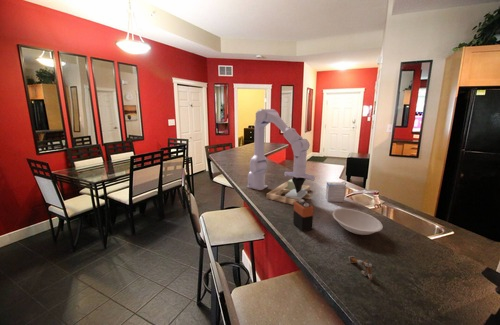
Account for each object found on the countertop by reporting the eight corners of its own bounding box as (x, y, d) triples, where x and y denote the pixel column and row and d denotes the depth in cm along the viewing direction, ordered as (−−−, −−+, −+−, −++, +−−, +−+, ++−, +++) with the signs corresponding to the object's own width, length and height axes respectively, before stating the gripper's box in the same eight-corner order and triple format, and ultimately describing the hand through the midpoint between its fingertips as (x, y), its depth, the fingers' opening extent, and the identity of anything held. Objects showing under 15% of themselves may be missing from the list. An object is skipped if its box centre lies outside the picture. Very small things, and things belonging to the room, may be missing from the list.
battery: (302, 221, 87) (303, 197, 85) (312, 229, 81) (314, 204, 79) (292, 223, 86) (293, 199, 83) (302, 232, 79) (303, 206, 77)
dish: (322, 223, 86) (323, 211, 84) (351, 217, 90) (352, 206, 89) (358, 249, 69) (360, 235, 68) (391, 240, 74) (393, 227, 73)
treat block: (287, 191, 120) (287, 181, 118) (290, 189, 123) (291, 179, 122) (295, 193, 117) (295, 182, 116) (298, 190, 121) (298, 180, 120)
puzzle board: (266, 198, 111) (266, 193, 110) (286, 185, 130) (286, 181, 129) (302, 206, 101) (302, 201, 100) (317, 191, 120) (318, 187, 119)
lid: (284, 196, 106) (285, 191, 105) (293, 190, 114) (293, 185, 113) (299, 199, 102) (300, 194, 101) (307, 193, 110) (307, 188, 109)
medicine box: (341, 199, 110) (343, 182, 108) (344, 202, 105) (346, 185, 103) (325, 198, 111) (326, 181, 109) (327, 201, 106) (328, 184, 104)
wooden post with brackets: (371, 281, 55) (367, 262, 56) (350, 272, 63) (348, 255, 64) (377, 280, 55) (373, 261, 56) (356, 271, 63) (353, 255, 64)
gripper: (281, 164, 105) (281, 191, 108) (312, 168, 97) (310, 198, 100) (288, 162, 110) (287, 187, 113) (317, 165, 102) (315, 193, 105)
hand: (298, 192), depth 107 cm, fingers closed
